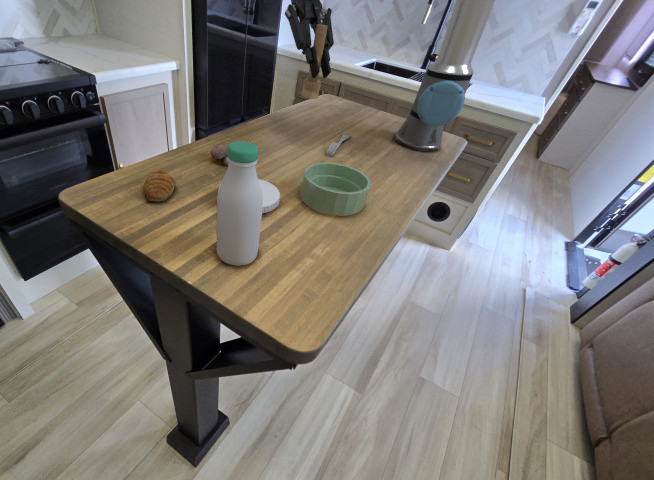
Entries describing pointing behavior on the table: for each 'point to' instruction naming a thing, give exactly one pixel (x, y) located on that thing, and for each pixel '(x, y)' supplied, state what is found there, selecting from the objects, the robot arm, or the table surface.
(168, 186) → the pastry
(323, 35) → the pestle
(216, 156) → the mushroom
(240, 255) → the milk bottle
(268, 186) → the plastic lid
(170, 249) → the table surface
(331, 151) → the fork
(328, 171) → the bowl
